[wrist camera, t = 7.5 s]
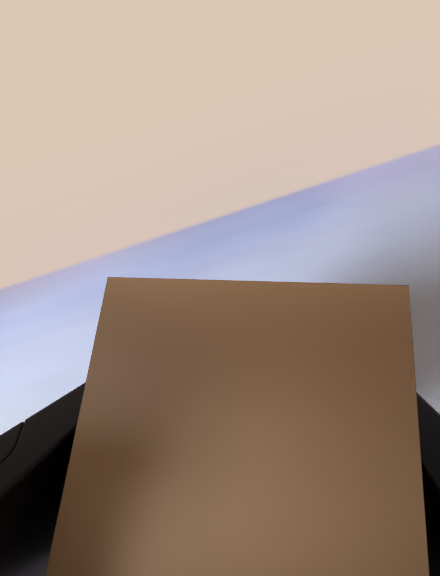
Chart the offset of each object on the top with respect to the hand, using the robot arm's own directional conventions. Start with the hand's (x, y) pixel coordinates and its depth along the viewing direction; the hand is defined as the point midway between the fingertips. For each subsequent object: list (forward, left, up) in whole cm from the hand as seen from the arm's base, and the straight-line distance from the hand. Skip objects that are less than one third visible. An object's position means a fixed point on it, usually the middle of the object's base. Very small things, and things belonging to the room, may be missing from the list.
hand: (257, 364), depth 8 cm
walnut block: (-1, +1, -7) cm, 7 cm away
